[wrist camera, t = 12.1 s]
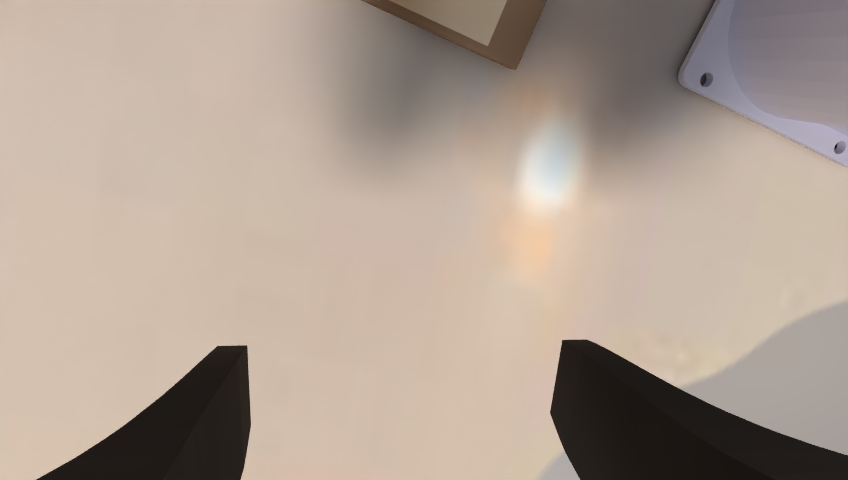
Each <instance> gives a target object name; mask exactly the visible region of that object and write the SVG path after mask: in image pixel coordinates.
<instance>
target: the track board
mask: <svg viewBox="0 0 848 480" xmlns="http://www.w3.org/2000/svg"><path fill="white" fill-rule="evenodd" d="M362 1H364V2H366V3H368V4H371V5H373V6H375V7H377V8H379V9H382V10H384V11H386V12H388V13H390V14H392V15H395V16H397V17H399V18H401V19H403V20H405V21H408V22H410V23H412V24H414V25H416V26H418V27H421V28H423V29H425V30H427V31H429V32H431V33H434V34H436V35H438V36H440V37H442V38H445V39H447V40H449V41H451V42H453V43H455V44H458V45H460V46H462V47H464V48H466V49H468V50H471V51H473V52H475V53H477V54H479V55H481V56H484V57H486V58H488V59H490V60H492V61H494V62H497V63H499V64H501V65H503V66H505V67H508V68H510V69H514V70H516V69H517V66H518V64H519V62H520V60H521V57H522V55H523V53H524V51H525V48H526V46H527V44H528V41H529V39H530V37H531V35H532V32H533V30H534V28H535V25H536V23H537V21H538V19H539V16H540V14H541V12H542V10H543V7H544V5H545V3H546V0H362Z"/></svg>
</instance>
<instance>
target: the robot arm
mask: <svg viewBox="0 0 848 480" xmlns="http://www.w3.org/2000/svg"><path fill="white" fill-rule="evenodd" d="M703 74H706V78H707V79H706V82H705V83H704V85H701V83H700V79H701V77H702V75H703ZM678 80H679V82H680V84H681V85H682V86H683V87H685V88H687V89H689V90H691V91H693V92H695V93H697V94H699V95H701V96H703V97H705V98H707V99H709V100H711V101H713V102H715V103H717V104H719V105H721V106H723V107H725V108H727V109H729V110H731V111H733V112H735V113H737V114H739V115H741V116H743V117H745V118H747V119H749V120H752V121H754V122H756V123H758V124H760V125H762V126H764V127H766V128H768V129H770V130H772V131H774V132H776V133H778V134H780V135H782V136H784V137H786V138H788V139H790V140H792V141H794V142H796V143H798V144H800V145H802V146H804V147H806V148H808V149H810V150H812V151H814V152H816V153H818V154H820V155H822V156H824V157H826V158H828V159H830V160H832V161H834V162H836V163H838V164H840V165H842V166H845V167H848V0H716V1H715V3H714V5H713V7H712V8H711V10H710V12H709V14H708V16H707V18H706V20H705V22H704V24H703V26H702V28H701V30H700V32H699V33H698V35H697V37H696V39H695V41H694V43H693V45H692V47H691V49H690V51H689V53H688V55H687V57H686V58H685V60H684V62H683V64H682V66H681V68H680V71H679V74H678ZM836 144H837V148H836V149H835V150H834V147H835V145H836ZM550 414H551V416H552V419H553V422H554V425H555V427H556V430H557V433H558V435H559V438H560V440H561V443H562V445H563V448H564V450H565V452H566V454H567V456H568V458H569V460H570V462H571V463H572V465H573V467H574V469H575V471H576V472H577V474H578V476H579V478H580V480H848V455H844V454H841V453H837V452H834V451H831V450H828V449H825V448H821V447H818V446H815V445H812V444H809V443H806V442H803V441H801V440H798V439H795V438H792V437H789V436H786V435H783V434H780V433H777V432H775V431H772V430H770V429H767V428H764V427H762V426H759V425H757V424H754V423H752V422H750V421H747V420H745V419H743V418H740V417H738V416H735V415H733V414H731V413H728V412H726V411H724V410H722V409H719V408H717V407H715V406H713V405H711V404H709V403H707V402H705V401H702V400H701V399H699V398H697V397H695V396H692V395H690V394H688V393H686V392H684V391H682V390H681V389H679V388H677V387H675V386H673V385H671V384H669V383H667V382H665V381H664V380H662V379H660V378H658V377H656V376H655V375H653V374H651V373H649V372H647V371H645V370H644V369H642V368H640V367H638V366H637V365H635V364H633V363H631V362H629V361H628V360H626V359H624V358H622V357H621V356H619V355H617V354H615V353H613V352H611V351H609V350H608V349H606V348H604V347H602V346H600V345H598V344H596V343H593V342H591V341H589V340H562V346H561V352H560V358H559V364H558V370H557V375H556V381H555V387H554V393H553V399H552V405H551V411H550ZM250 427H251V419H250V397H249V375H248V353H247V346H217V347H216V348H215V349H214V350H213V351H212V352H210V353H209V354H208V355H207V356H206V357H205V358H204V359H203V360H202V361H200V362H199V363H198V364H197V365H196V366H195V367H194V368H193V369H192V370H191V371H190V372H188V373H187V374H186V375H185V376H184V377H183V378H182V379H181V380H180V381H178V382H177V383H176V384H175V385H174V386H173V387H172V388H170V389H169V390H168V391H167V392H166V393H165V394H164V395H162V396H161V397H160V398H159V399H157V400H156V401H155V402H154V403H152V404H151V405H150V406H149V407H147V408H146V409H145V410H143V411H142V412H141V413H140V414H138V415H137V416H136V417H135V418H133V419H132V420H131V421H129V422H128V423H127V424H125V425H124V426H123V427H121V428H120V429H119V430H117V431H116V432H114V433H113V434H111V435H110V436H108V437H107V438H105V439H104V440H102V441H101V442H99V443H98V444H96V445H95V446H93V447H92V448H90V449H88V450H87V451H85V452H84V453H82V454H81V455H79V456H77V457H76V458H74V459H72V460H71V461H69V462H67V463H65V464H64V465H62V466H60V467H58V468H56V469H55V470H53V471H51V472H49V473H47V474H46V475H44V476H42V477H40V478H39V479H37V480H240V479H241V476H242V472H243V469H244V464H245V458H246V452H247V446H248V440H249V433H250Z"/></svg>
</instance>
